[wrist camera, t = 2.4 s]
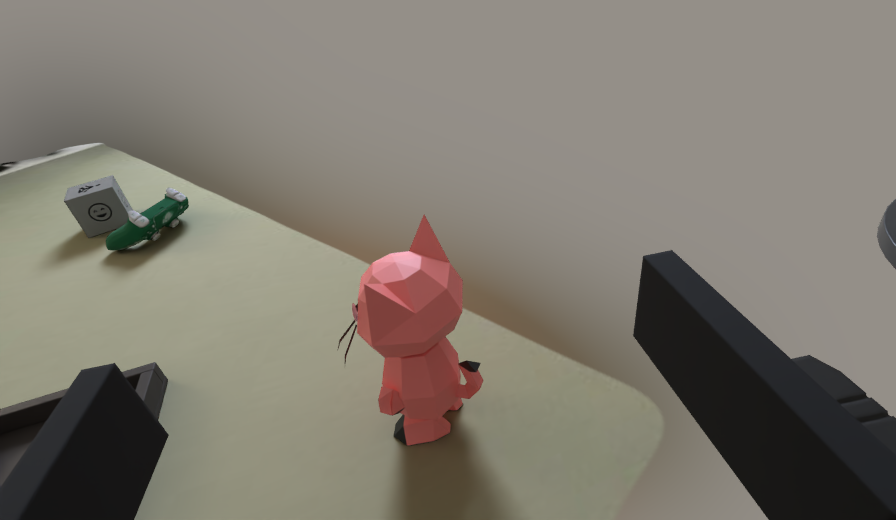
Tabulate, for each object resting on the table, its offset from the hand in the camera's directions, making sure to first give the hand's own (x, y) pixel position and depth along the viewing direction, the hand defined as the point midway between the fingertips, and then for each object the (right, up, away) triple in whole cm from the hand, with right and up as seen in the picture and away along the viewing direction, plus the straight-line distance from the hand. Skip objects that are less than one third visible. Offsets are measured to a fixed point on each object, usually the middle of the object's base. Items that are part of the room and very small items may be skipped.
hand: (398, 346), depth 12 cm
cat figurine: (+1, -7, +16) cm, 18 cm away
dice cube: (-42, +7, +47) cm, 63 cm away
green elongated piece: (-33, +5, +43) cm, 54 cm away
